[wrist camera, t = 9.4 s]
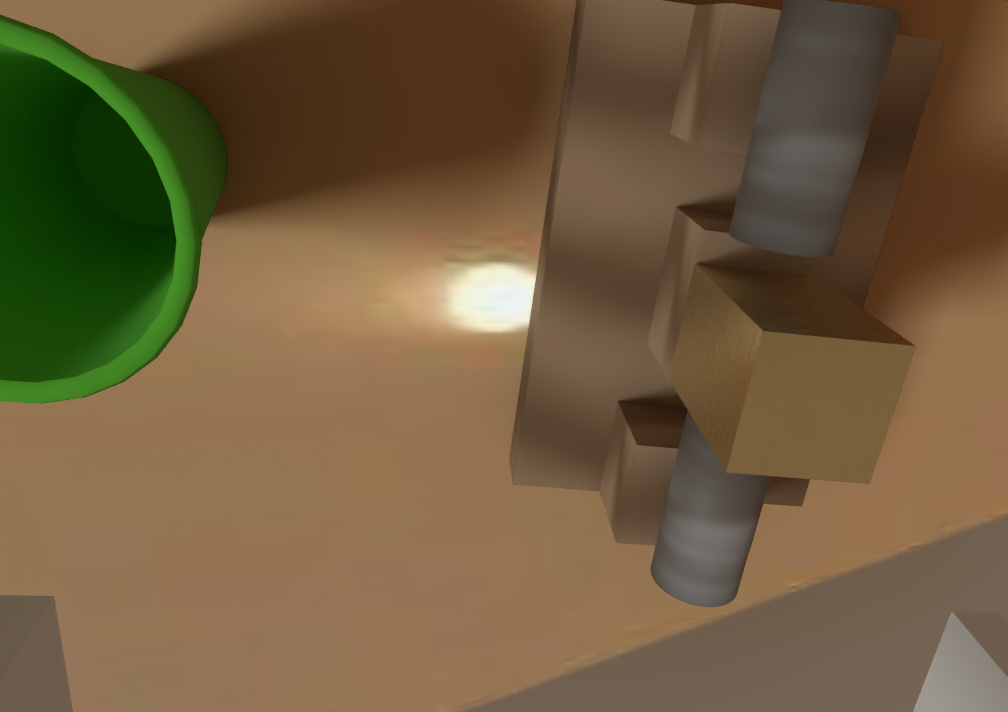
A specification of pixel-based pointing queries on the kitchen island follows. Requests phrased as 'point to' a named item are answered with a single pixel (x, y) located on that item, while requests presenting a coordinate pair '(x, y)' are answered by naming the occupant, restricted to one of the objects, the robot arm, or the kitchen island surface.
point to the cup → (95, 215)
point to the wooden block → (787, 374)
